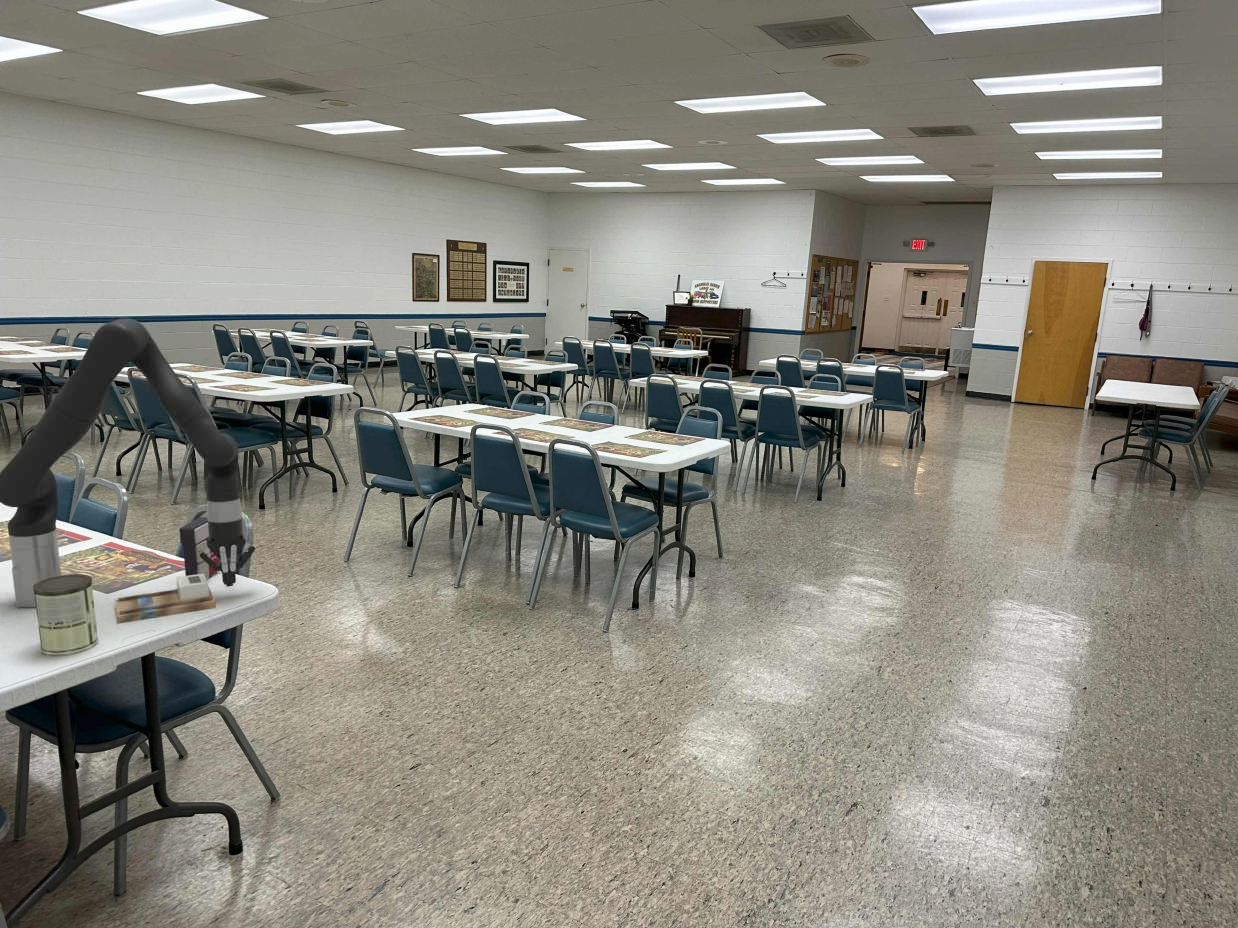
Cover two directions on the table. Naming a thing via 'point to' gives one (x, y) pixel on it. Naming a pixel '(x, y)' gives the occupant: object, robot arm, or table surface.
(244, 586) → the table surface
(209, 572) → the black red grey box
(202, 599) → the board
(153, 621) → the table surface
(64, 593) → the coffee can
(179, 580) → the block
